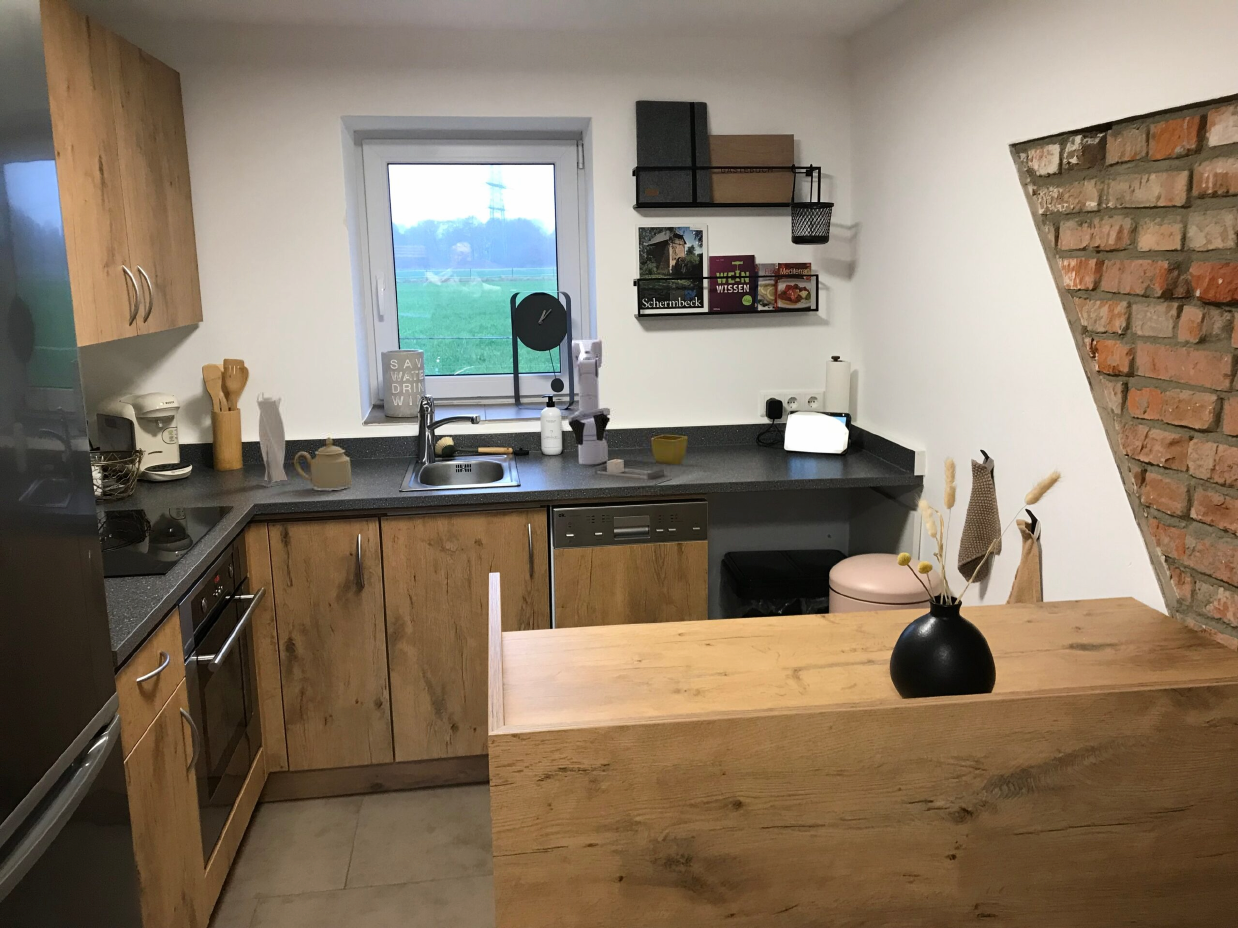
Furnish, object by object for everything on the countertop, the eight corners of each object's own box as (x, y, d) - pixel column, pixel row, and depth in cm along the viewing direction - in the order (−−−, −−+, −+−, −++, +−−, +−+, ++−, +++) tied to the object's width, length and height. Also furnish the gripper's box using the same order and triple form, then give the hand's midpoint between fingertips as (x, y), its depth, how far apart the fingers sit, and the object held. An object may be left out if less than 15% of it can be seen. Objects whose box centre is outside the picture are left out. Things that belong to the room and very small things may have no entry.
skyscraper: (255, 485, 292) (247, 392, 287) (280, 480, 298) (272, 390, 293) (269, 488, 287) (261, 394, 281) (294, 484, 292) (286, 391, 287)
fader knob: (615, 470, 292) (615, 458, 292) (623, 471, 291) (623, 459, 290) (607, 473, 289) (606, 461, 288) (615, 474, 287) (615, 462, 286)
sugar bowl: (303, 494, 275) (299, 442, 272) (295, 488, 284) (291, 437, 282) (356, 488, 282) (352, 437, 279) (346, 482, 291) (343, 433, 289)
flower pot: (688, 464, 308) (688, 436, 306) (675, 468, 301) (674, 440, 299) (664, 462, 313) (664, 434, 311) (650, 466, 306) (650, 438, 304)
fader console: (605, 472, 298) (605, 462, 297) (671, 479, 284) (671, 469, 283) (587, 477, 290) (587, 466, 290) (654, 485, 277) (654, 474, 276)
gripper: (561, 400, 292) (562, 444, 290) (599, 391, 284) (600, 436, 281) (576, 404, 298) (577, 447, 295) (613, 395, 290) (615, 440, 287)
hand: (589, 442), depth 289 cm, fingers open, 7 cm apart
